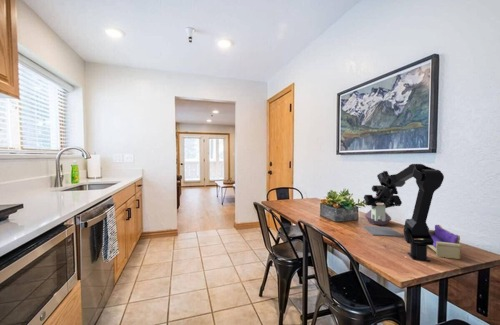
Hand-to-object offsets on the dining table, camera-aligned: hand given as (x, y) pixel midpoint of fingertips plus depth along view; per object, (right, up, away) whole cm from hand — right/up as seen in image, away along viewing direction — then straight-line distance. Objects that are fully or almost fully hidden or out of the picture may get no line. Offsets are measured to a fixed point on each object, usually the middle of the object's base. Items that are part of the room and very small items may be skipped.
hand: (377, 208), depth 134 cm
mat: (+2, -14, -1) cm, 14 cm away
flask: (+10, -14, +16) cm, 23 cm away
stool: (0, -7, -1) cm, 7 cm away
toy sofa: (+13, -14, -27) cm, 34 cm away
